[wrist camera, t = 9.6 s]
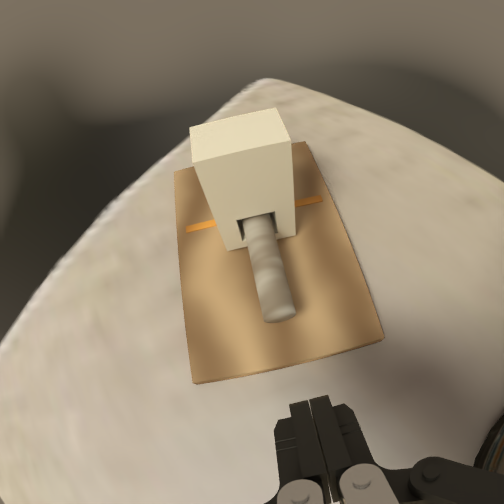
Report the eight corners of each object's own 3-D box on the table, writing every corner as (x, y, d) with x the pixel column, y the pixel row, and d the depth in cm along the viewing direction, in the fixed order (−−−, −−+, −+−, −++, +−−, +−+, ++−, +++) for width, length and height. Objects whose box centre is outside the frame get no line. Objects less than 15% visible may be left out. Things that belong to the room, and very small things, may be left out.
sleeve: (285, 202, 31) (275, 107, 21) (295, 235, 29) (290, 140, 19) (221, 217, 31) (189, 127, 21) (227, 251, 29) (192, 163, 19)
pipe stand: (305, 148, 37) (303, 100, 31) (381, 341, 25) (407, 313, 18) (177, 178, 37) (157, 134, 31) (197, 384, 25) (164, 371, 19)
